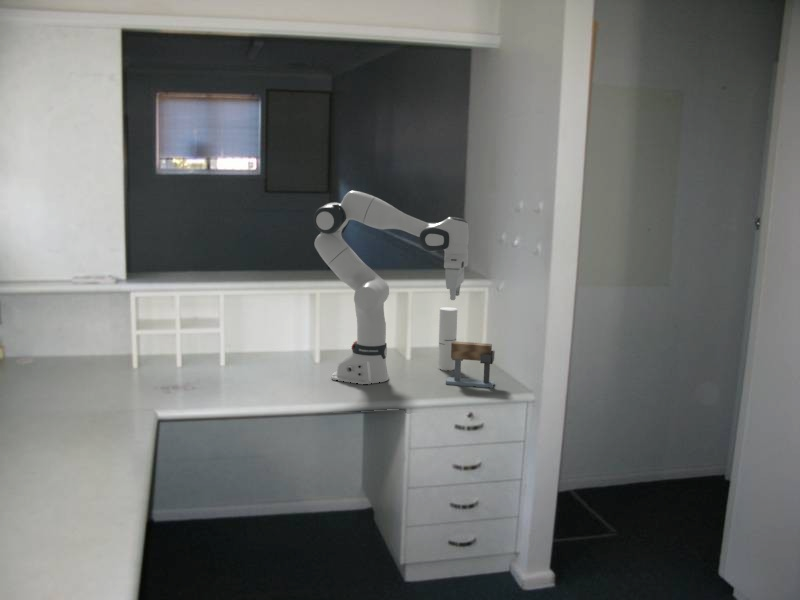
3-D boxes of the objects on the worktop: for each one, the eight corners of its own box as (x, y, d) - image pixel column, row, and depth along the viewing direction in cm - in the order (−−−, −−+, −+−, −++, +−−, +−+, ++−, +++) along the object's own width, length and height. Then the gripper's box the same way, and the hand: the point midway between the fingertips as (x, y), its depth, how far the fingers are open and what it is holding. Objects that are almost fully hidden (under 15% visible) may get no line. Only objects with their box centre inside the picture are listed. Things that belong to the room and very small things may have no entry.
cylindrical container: (454, 371, 326) (456, 310, 321) (436, 369, 327) (438, 309, 322) (456, 366, 333) (458, 307, 328) (439, 365, 334) (441, 306, 329)
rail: (451, 358, 306) (451, 343, 305) (452, 356, 309) (453, 341, 308) (490, 361, 303) (490, 346, 302) (491, 359, 306) (491, 343, 305)
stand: (445, 384, 307) (446, 351, 304) (448, 379, 313) (449, 347, 311) (492, 388, 303) (493, 355, 300) (494, 383, 309) (495, 350, 307)
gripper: (452, 257, 307) (451, 292, 310) (443, 264, 288) (441, 301, 290) (468, 257, 306) (467, 293, 309) (460, 265, 286) (459, 302, 289)
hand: (454, 297), depth 299 cm, fingers open, 8 cm apart
